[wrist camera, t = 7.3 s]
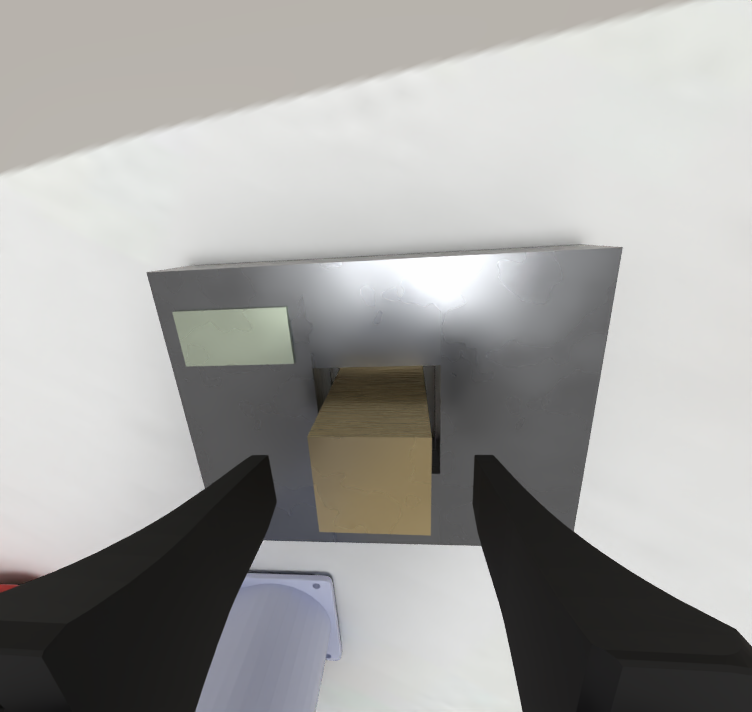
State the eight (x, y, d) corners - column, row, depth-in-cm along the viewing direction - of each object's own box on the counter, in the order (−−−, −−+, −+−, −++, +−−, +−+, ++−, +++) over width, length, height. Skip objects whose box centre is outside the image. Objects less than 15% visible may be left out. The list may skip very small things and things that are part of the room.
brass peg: (349, 428, 19) (319, 531, 13) (343, 361, 18) (307, 436, 11) (421, 429, 19) (430, 535, 12) (421, 360, 17) (431, 437, 11)
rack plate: (243, 498, 21) (216, 542, 18) (190, 265, 17) (142, 272, 14) (546, 502, 20) (572, 551, 17) (582, 244, 15) (626, 247, 12)
